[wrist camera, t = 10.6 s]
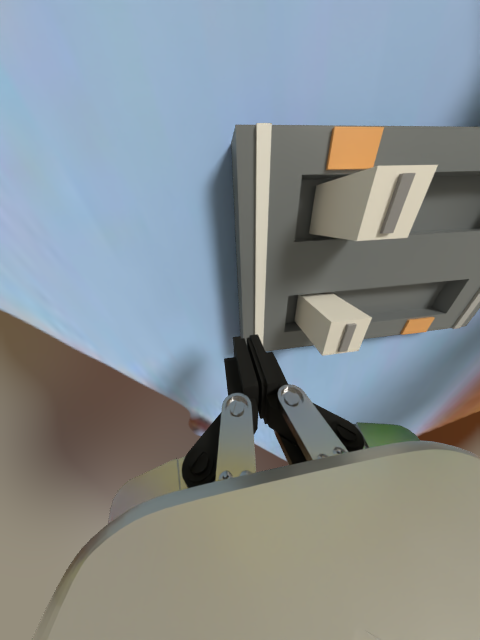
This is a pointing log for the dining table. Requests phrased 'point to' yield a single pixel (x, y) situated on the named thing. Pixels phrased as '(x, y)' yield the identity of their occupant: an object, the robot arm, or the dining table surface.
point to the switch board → (347, 255)
